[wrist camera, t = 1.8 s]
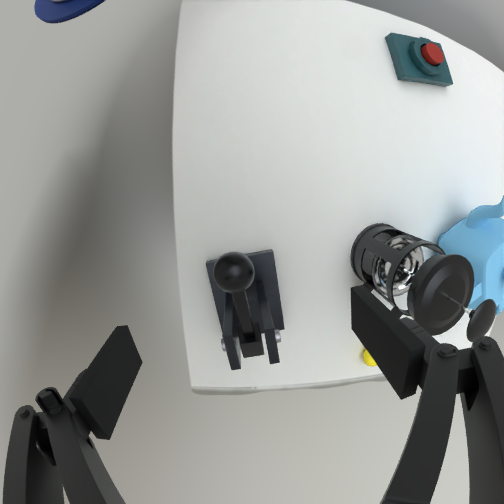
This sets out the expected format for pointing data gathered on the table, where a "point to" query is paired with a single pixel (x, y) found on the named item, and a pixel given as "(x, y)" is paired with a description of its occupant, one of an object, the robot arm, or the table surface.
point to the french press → (422, 281)
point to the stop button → (432, 54)
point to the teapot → (481, 251)
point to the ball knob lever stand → (251, 307)
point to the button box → (416, 61)
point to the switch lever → (240, 298)
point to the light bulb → (368, 359)
